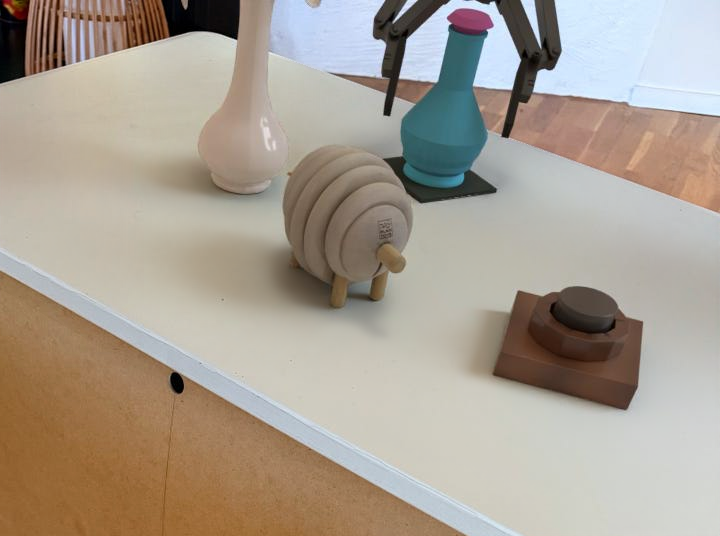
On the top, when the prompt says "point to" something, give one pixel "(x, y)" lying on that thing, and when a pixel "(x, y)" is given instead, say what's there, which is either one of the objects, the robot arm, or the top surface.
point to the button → (585, 310)
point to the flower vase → (247, 112)
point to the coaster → (428, 193)
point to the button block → (570, 353)
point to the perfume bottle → (449, 109)
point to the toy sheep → (347, 219)
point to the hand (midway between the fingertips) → (446, 120)
